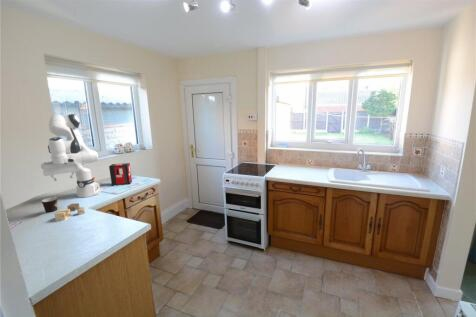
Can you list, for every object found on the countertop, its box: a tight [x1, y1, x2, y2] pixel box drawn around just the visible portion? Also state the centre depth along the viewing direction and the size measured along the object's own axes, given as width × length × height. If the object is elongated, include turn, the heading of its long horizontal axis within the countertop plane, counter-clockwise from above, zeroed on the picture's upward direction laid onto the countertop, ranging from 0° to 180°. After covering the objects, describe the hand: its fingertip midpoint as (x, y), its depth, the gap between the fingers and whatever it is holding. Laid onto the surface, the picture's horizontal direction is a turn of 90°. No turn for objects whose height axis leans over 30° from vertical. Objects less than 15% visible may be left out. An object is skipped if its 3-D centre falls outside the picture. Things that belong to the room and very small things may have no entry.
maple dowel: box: [76, 206, 86, 216], centre depth 156 cm, size 4×4×4 cm
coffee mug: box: [41, 196, 58, 214], centre depth 163 cm, size 12×9×10 cm
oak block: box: [53, 208, 72, 221], centre depth 149 cm, size 6×6×5 cm
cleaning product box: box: [108, 162, 133, 187], centre depth 223 cm, size 16×9×20 cm, turn 102°
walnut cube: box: [66, 202, 81, 212], centre depth 163 cm, size 5×5×5 cm
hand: (63, 179), depth 159 cm, fingers open, 8 cm apart
